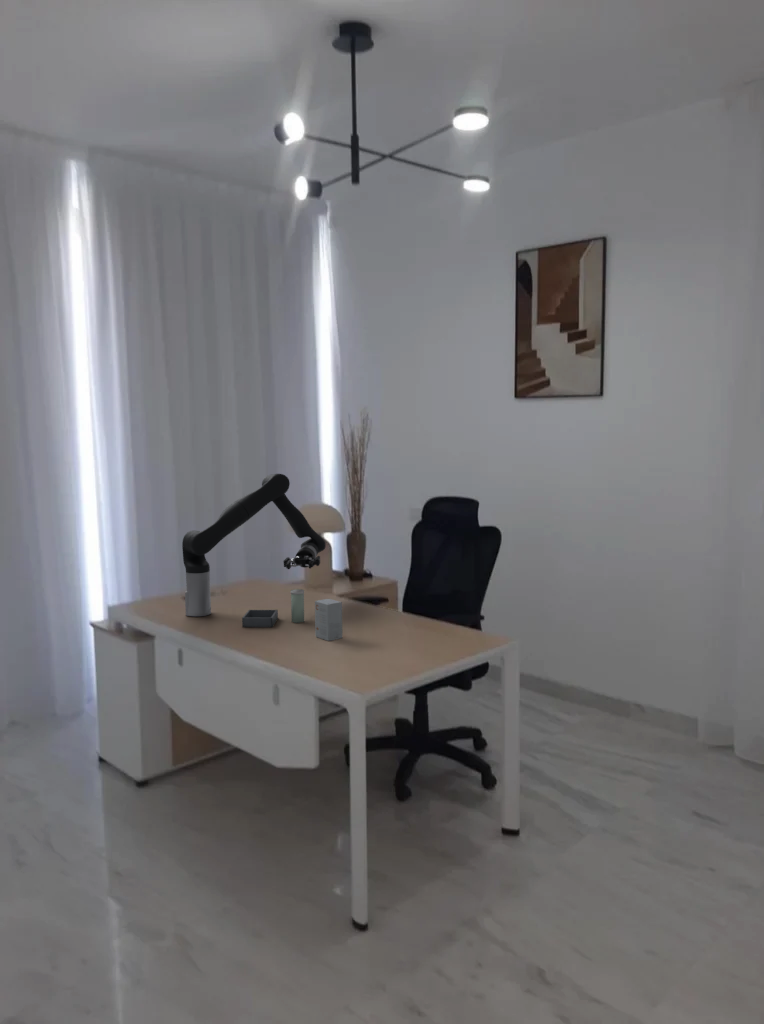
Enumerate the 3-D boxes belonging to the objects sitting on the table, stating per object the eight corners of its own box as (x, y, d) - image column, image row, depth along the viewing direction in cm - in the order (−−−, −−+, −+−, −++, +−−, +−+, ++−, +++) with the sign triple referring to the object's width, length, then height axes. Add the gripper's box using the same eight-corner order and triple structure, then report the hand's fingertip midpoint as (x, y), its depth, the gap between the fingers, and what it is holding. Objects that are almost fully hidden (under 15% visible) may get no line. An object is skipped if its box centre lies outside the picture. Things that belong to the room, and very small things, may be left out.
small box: (342, 638, 283) (342, 601, 281) (328, 641, 279) (327, 604, 277) (329, 633, 289) (328, 598, 287) (314, 636, 285) (314, 600, 283)
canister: (290, 623, 305) (289, 592, 303) (292, 619, 310) (291, 589, 308) (303, 623, 304) (303, 592, 303) (305, 619, 309) (304, 589, 308)
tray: (242, 627, 299) (242, 617, 299) (249, 618, 312) (248, 609, 312) (272, 627, 299) (272, 617, 298) (277, 618, 312) (277, 609, 311)
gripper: (288, 547, 331) (280, 557, 315) (322, 546, 329) (316, 556, 313) (290, 565, 332) (281, 576, 316) (324, 564, 331) (317, 575, 315)
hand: (298, 566), depth 315 cm, fingers open, 8 cm apart
